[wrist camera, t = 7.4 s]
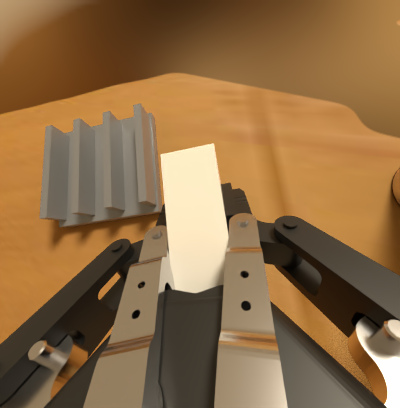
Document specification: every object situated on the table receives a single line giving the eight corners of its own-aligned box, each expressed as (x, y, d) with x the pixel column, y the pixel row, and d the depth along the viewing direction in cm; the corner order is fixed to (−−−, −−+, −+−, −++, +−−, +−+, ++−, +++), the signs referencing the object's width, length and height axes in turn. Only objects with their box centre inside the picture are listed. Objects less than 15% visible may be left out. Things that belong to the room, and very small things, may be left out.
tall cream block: (235, 269, 15) (240, 309, 7) (205, 272, 16) (174, 313, 7) (222, 192, 17) (213, 143, 8) (196, 196, 17) (160, 154, 9)
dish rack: (162, 212, 29) (149, 207, 25) (66, 227, 32) (37, 225, 27) (154, 118, 33) (141, 97, 28) (69, 137, 36) (44, 122, 31)
